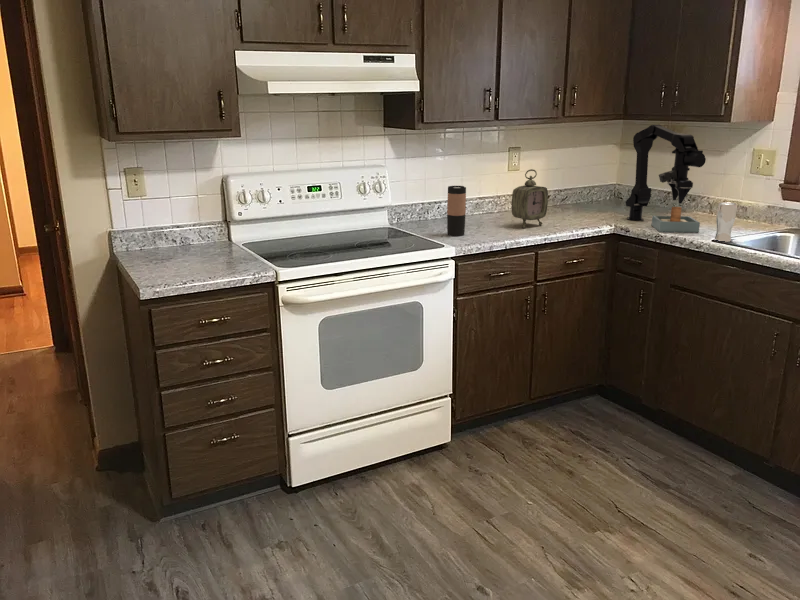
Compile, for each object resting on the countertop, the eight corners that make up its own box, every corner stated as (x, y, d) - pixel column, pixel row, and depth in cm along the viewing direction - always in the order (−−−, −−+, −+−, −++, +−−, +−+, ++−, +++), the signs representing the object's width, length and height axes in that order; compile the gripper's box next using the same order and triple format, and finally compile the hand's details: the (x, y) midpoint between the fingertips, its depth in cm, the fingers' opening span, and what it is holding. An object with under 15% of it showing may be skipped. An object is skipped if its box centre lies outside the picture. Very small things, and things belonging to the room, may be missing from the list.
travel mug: (443, 235, 286) (444, 187, 280) (452, 232, 292) (453, 185, 286) (459, 237, 282) (460, 188, 276) (468, 234, 288) (469, 186, 282)
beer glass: (712, 241, 273) (717, 204, 269) (713, 238, 279) (718, 201, 275) (731, 243, 270) (737, 205, 266) (732, 239, 276) (737, 202, 272)
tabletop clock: (523, 229, 298) (526, 171, 290) (508, 226, 305) (511, 169, 297) (546, 225, 306) (549, 169, 298) (531, 222, 313) (534, 167, 305)
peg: (668, 227, 300) (670, 206, 297) (677, 227, 299) (680, 206, 296) (670, 228, 296) (673, 208, 293) (680, 229, 295) (682, 208, 293)
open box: (651, 225, 306) (652, 215, 304) (688, 226, 304) (689, 216, 302) (659, 232, 291) (660, 221, 290) (698, 233, 289) (699, 222, 288)
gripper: (656, 162, 299) (652, 198, 304) (667, 167, 282) (663, 204, 286) (682, 162, 298) (678, 198, 303) (695, 167, 280) (690, 205, 285)
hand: (677, 201), depth 294 cm, fingers open, 9 cm apart
